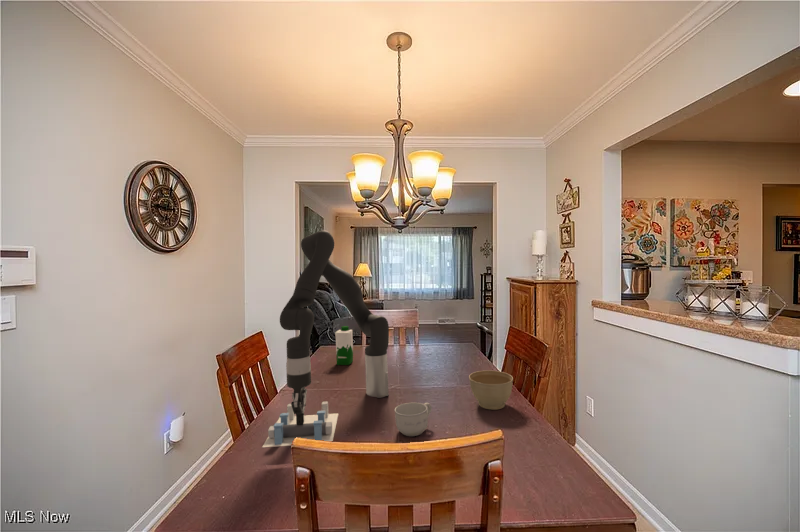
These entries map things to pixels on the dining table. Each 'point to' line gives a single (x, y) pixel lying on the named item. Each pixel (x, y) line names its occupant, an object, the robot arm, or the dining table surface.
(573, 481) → the dining table surface
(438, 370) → the dining table surface
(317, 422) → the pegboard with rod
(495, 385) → the planter bowl
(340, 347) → the milk carton
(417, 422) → the teacup
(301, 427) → the dark grey dowel
